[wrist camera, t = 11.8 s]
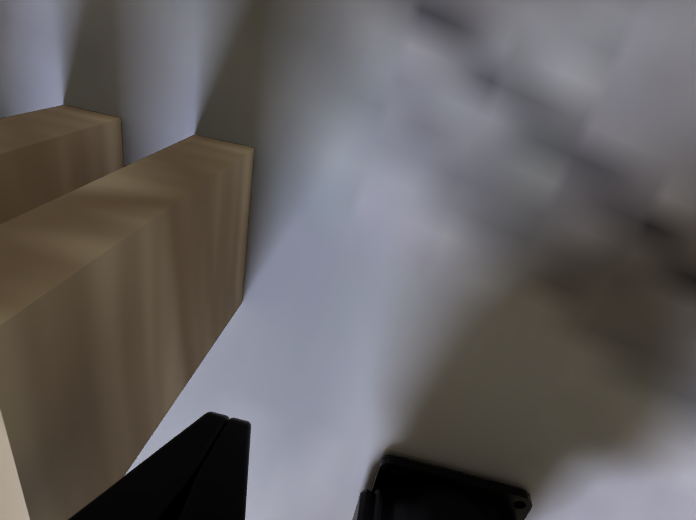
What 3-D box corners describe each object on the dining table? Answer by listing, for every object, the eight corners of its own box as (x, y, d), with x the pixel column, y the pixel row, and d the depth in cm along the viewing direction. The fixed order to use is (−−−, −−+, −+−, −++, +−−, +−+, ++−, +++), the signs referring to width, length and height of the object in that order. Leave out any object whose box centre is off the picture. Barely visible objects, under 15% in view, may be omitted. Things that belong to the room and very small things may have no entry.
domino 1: (254, 148, 14) (-19, 338, 6) (242, 302, 17) (47, 587, 9) (194, 134, 15) (-165, 300, 6) (192, 290, 17) (-50, 558, 9)
